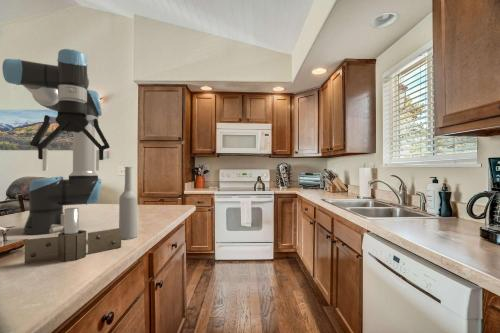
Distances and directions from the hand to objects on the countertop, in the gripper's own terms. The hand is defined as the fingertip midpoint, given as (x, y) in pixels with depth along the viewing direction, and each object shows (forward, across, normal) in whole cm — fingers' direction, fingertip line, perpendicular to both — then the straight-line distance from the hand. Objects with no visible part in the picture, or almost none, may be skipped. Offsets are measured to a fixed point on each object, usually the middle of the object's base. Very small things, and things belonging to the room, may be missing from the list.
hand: (72, 170), depth 81 cm
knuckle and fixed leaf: (+27, -4, 0) cm, 27 cm away
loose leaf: (+27, +9, +3) cm, 28 cm away
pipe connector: (+27, -6, +23) cm, 36 cm away
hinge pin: (+27, 0, 0) cm, 27 cm away
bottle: (+27, +16, +18) cm, 36 cm away
